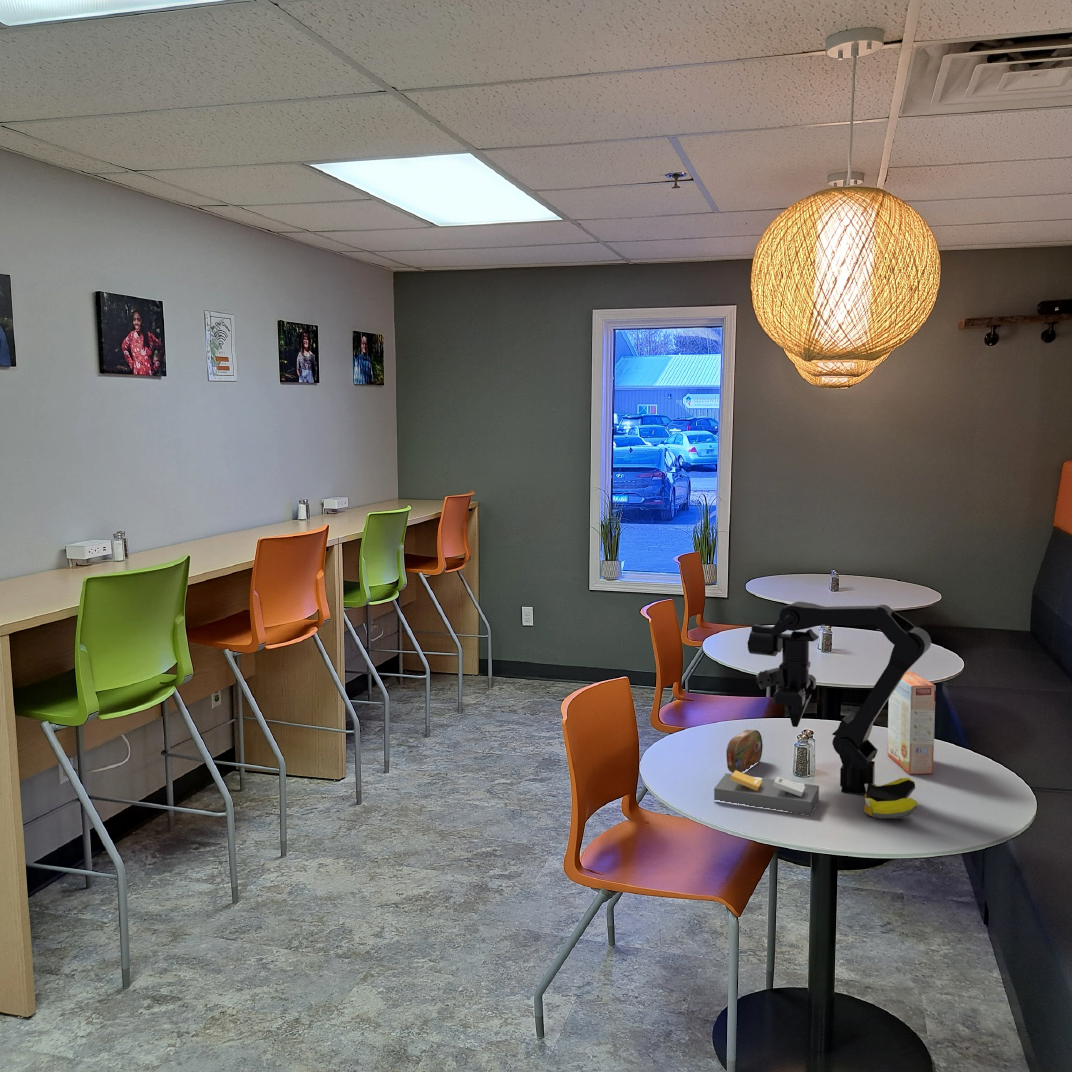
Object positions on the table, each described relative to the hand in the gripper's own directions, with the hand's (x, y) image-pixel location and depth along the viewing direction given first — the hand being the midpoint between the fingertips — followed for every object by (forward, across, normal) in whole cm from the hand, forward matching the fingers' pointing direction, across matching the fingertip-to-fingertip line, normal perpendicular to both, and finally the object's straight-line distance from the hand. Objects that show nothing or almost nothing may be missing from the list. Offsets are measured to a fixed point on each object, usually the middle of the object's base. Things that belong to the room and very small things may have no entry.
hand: (795, 726), depth 211 cm
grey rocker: (+8, +18, +2) cm, 19 cm away
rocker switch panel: (+12, +16, -3) cm, 20 cm away
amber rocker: (+8, +18, -7) cm, 20 cm away
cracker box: (+12, -19, +23) cm, 32 cm away
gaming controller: (+12, +12, +21) cm, 27 cm away
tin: (+12, -2, -12) cm, 17 cm away
